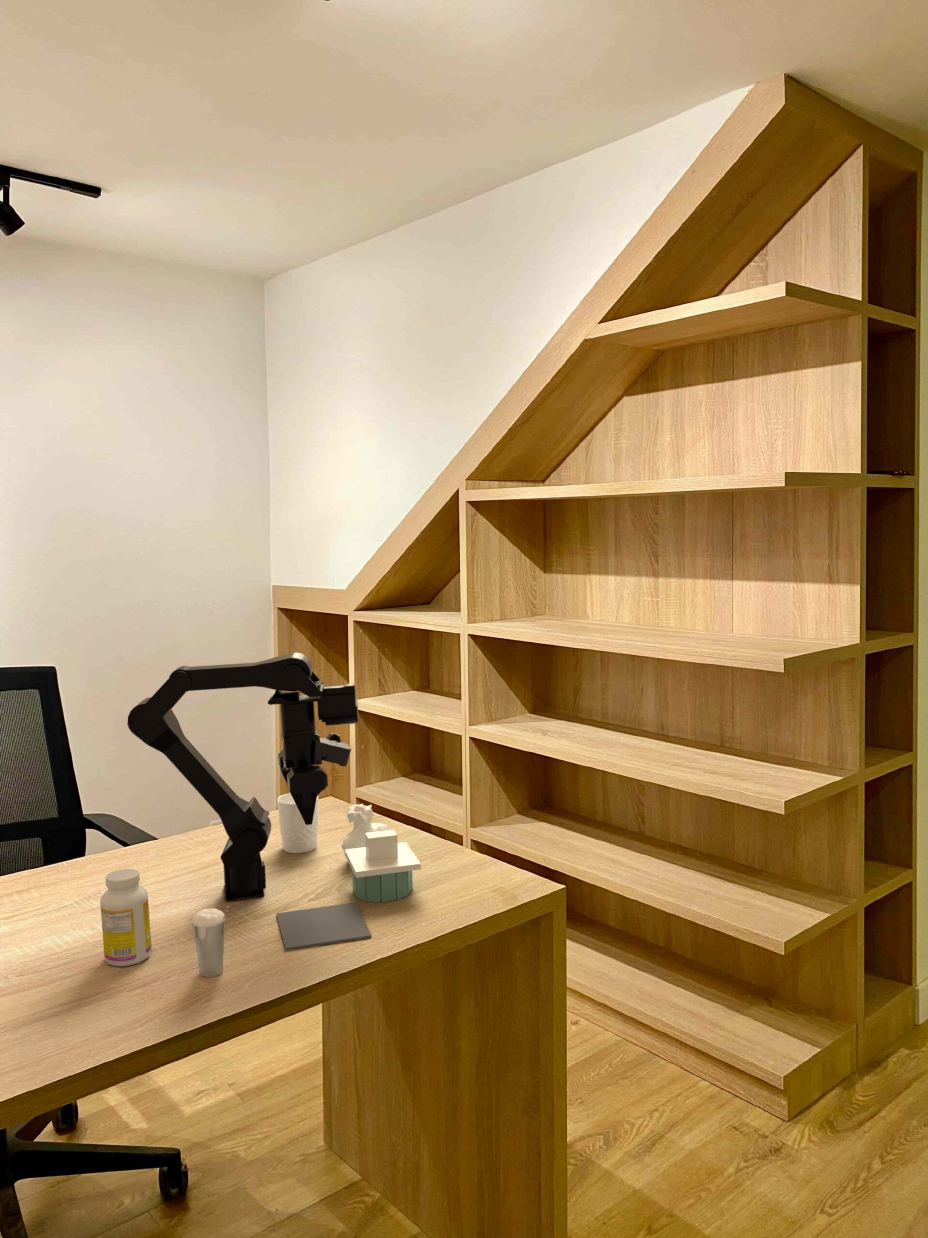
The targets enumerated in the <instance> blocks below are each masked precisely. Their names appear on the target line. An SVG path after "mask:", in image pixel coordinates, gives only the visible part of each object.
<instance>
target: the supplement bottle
mask: <svg viewBox="0 0 928 1238" xmlns="http://www.w3.org/2000/svg"><path fill="white" fill-rule="evenodd" d="M140 877H141V876H140V871H139V870H138V869H134V868H122V869H117V870H114V871H110V872H109V873H107V874H106V876H105V886H106V887H107V890H106V891H105V892H104V893H103V894H102V895H101V897H100V900H99V902H100V904H99V905H100V917H101V918H100V919H101V929H102V932H101V933H102V940H103V941H102V942H103V954H104V960H105V962H106V963H107V965H111V966H113V967H129V966H133V965H137V964H139V963H141V962H144V961H145V960H146V959H148V958H149V957H150V956H151V954H152V950H153V949H152V935H151V922H150V921H151V920H150V919H151V918H150V908H149V907H150V905H149V894H148V891H147V889H146V888H145V887H144V886H143V885H140V880H141V878H140Z"/></svg>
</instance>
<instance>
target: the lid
mask: <svg viewBox="0 0 928 1238" xmlns="http://www.w3.org/2000/svg"><path fill="white" fill-rule="evenodd" d="M365 845H366V847H362V848H353V849H345V852H344V856H345V858H346V860H347V862H348V864H349V866H350V869H351V871H352V870H353V872H354V874H355V876H356V878H359V877H366V876H374V875H382V874H389V873H397V872H404V871H412V872H413V871H418V870H421V869H422V864H421V862H420V861H419V859H418V857H417V856H416V855H415V853H414V852H413V850H412V849H411V848H410V846H409V844H408V843H407V842H406V841H404V842H403V841H402V842H398V833H396V831H395V830H394V829H393V828H392V829H389V830H385V831H376V832H368V833H365Z"/></svg>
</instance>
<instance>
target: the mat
mask: <svg viewBox="0 0 928 1238" xmlns="http://www.w3.org/2000/svg"><path fill="white" fill-rule="evenodd" d="M276 918H277V922H278V924H279V929H280V933H281V937H282V941H283V946H284V948H285V949H284V950H285V951H292V950H298V949H305V948H313V947H319V946H326V945H331V944H337V943H344V942H345V943H346V942H351V941H357V940H364V939H365V940H366V939H371V938H372V934H371V931H370V929H369V927H368V924H367V923H366V921H365V919H364V917H363V914H362V913H361V909H360V908H359V906H358V904H357V902H349V903H342V904H341V903H340V904H335V905H334V904H333V905H326V906H319V907H313V908H304V909H297V910H291V911H282V912H277V913H276Z"/></svg>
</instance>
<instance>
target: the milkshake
mask: <svg viewBox="0 0 928 1238" xmlns="http://www.w3.org/2000/svg"><path fill="white" fill-rule="evenodd" d="M228 909H229V906H227V907H226V909H225V912H223V911H221V910H220V909H219V908H218V909H217V908H213V907H212V908H202V909H200V910H198V912H196V913H195V914H194V915H193V917H192V920H191V923H192V930H193V936H194V942H195V948H196V949H195V950H196V956H197V964H198V972H199V975H200V976H201V977H203V978H213V977H214V978H215V977H218V976H219V975H221V974H223V971H224V953H225V951H224V947H225V945H224V944H225V926H226V915H227V912H228V911H229V910H228Z"/></svg>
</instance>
